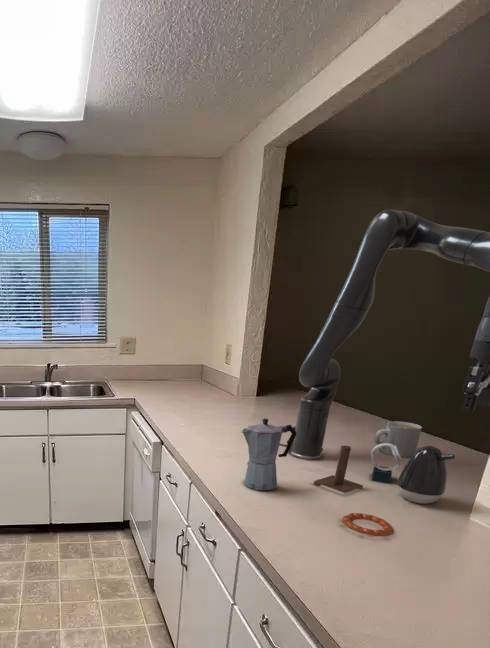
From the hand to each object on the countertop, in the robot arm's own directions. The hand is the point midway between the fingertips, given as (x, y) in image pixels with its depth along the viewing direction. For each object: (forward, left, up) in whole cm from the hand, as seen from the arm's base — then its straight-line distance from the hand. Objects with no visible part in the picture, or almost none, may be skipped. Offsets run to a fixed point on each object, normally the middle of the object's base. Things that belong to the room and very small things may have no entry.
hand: (475, 408), depth 103 cm
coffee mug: (-31, +36, -26) cm, 55 cm away
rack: (-22, -11, -26) cm, 36 cm away
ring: (-4, -29, -25) cm, 39 cm away
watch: (-19, +6, -26) cm, 33 cm away
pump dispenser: (-6, -1, -26) cm, 27 cm away
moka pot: (-34, -29, -26) cm, 52 cm away
